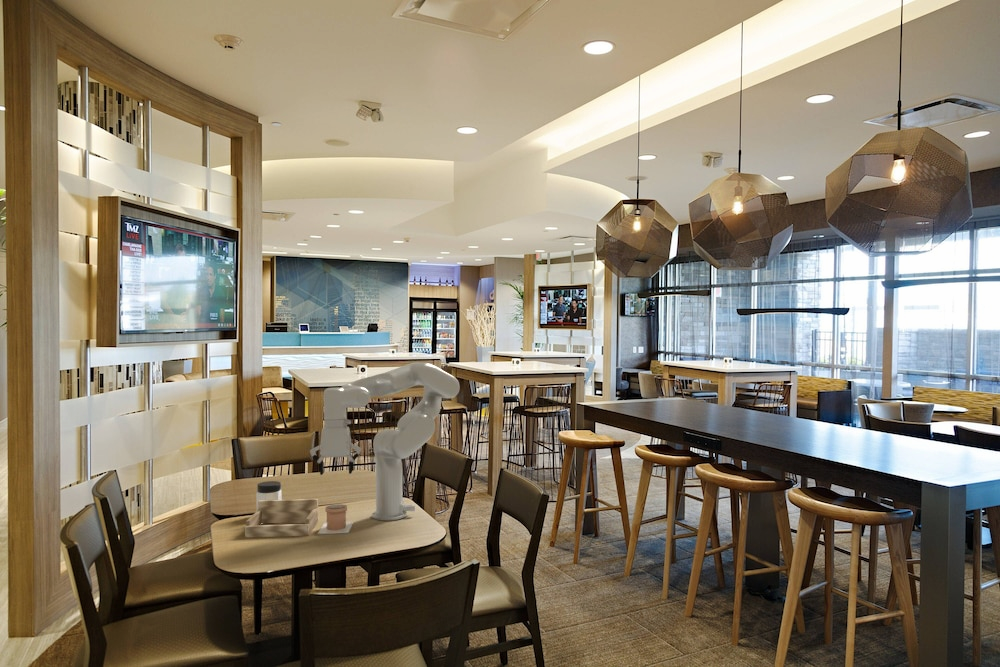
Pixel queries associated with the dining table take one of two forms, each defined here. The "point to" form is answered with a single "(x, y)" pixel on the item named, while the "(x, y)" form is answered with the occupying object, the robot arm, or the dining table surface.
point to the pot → (336, 516)
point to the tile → (326, 531)
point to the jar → (268, 491)
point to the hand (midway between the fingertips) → (336, 473)
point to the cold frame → (283, 518)
